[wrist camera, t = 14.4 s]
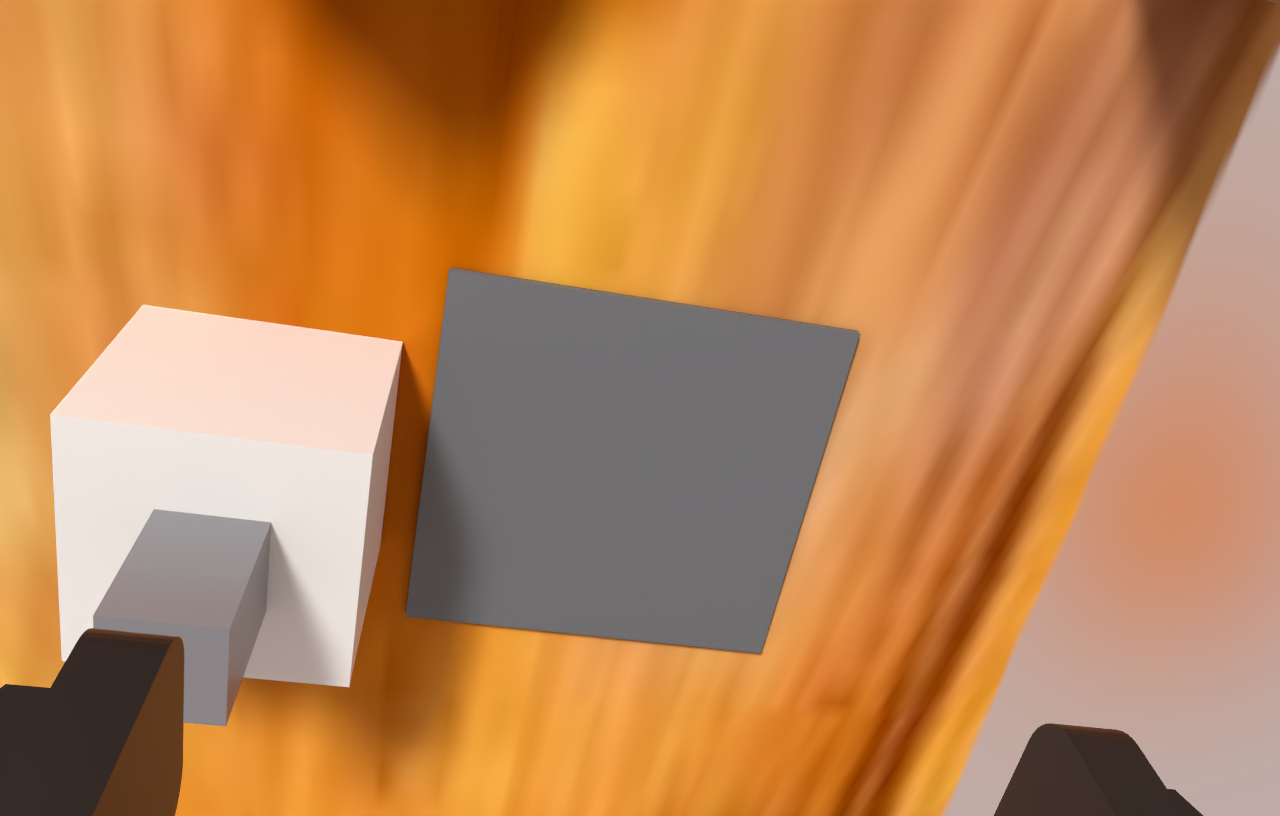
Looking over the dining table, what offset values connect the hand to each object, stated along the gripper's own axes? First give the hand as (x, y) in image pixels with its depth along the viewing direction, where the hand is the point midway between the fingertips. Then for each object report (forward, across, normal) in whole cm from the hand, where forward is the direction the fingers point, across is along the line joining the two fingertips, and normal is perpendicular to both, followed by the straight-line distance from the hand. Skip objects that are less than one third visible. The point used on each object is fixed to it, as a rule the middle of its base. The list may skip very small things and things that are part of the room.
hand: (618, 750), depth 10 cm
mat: (+36, -6, +18) cm, 41 cm away
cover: (+36, +10, +18) cm, 42 cm away
